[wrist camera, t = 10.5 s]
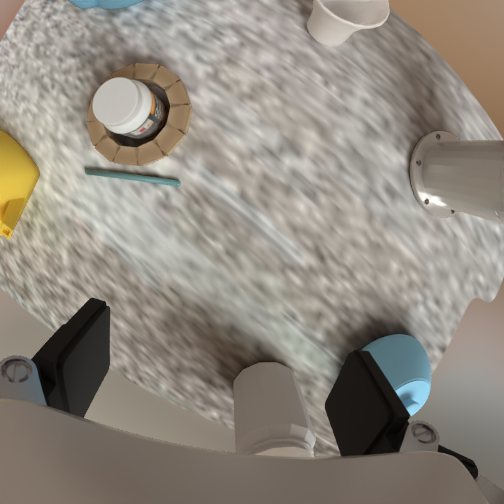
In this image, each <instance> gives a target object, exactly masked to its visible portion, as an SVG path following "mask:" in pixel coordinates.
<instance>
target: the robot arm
mask: <svg viewBox="0 0 504 504" xmlns="http://www.w3.org/2000/svg"><path fill="white" fill-rule="evenodd" d="M410 180H411V185H412V189H413V192H414V195H415V197H416V199H417V201H418V202H419V204H420V205H421V206H422V207H423V209H424V210H426V211H427V212H428V213H430V214H432V215H434V216H437V217H440V218H448V217H452V216H454V215H456V214H458V213H459V212H463V213H467V214H471V215H474V216H478V217H481V218H485V219H488V220H491V221H495V222H498V223H501V224H504V140H477V141H461V140H460V139H459V138H458V137H456V136H455V135H453V134H452V133H449V132H447V131H434V132H431V133H428V134H426V135H425V136H423V137H422V138H421V139H420V140H419V142H418V143H417V145H416V147H415V149H414V151H413V154H412V158H411V162H410ZM109 365H110V307H109V306H106V302H105V301H102V300H99V299H95V298H90V299H89V300H88V301H87V302H86V303H85V304H84V305H83V306H82V307H81V308H80V309H79V311H78V312H77V313H76V314H75V315H74V316H73V317H72V318H71V319H70V320H69V321H68V322H67V323H66V324H63V325H62V326H61V327H60V328H59V329H58V330H57V331H56V332H55V333H54V335H53V336H52V337H51V338H50V339H49V340H48V341H47V342H46V343H45V344H44V345H43V347H42V348H41V349H40V350H39V351H38V352H37V353H36V354H35V356H34V357H33V358H32V359H31V360H30V359H28V358H27V357H23V356H15V355H14V356H9V357H7V358H4V359H3V360H2V361H1V362H0V504H504V491H503V490H502V489H500V488H499V487H498V486H496V485H495V484H494V483H492V482H491V481H489V480H488V479H487V478H485V477H484V476H483V475H480V476H479V477H478V469H477V466H476V465H475V463H474V462H473V461H472V460H471V459H468V458H467V457H464V456H462V455H460V454H458V453H456V452H453V451H451V450H449V449H447V448H445V447H442V446H440V445H439V434H438V432H437V430H436V429H435V428H434V427H433V426H431V425H430V424H428V423H426V422H423V421H413V422H411V423H410V424H409V422H408V421H407V420H408V419H409V418H410V416H411V415H410V414H409V412H408V411H407V409H406V408H405V406H404V404H403V403H402V401H401V400H400V398H399V396H398V395H397V393H396V392H395V390H394V389H393V387H392V386H391V384H390V382H389V381H388V379H387V378H386V376H385V375H384V373H383V372H382V370H381V369H380V367H379V366H378V364H377V363H376V361H375V360H374V358H373V357H372V355H371V353H370V352H369V351H364V350H354V351H353V352H352V353H350V354H349V355H348V357H347V359H346V361H345V363H344V365H343V368H342V370H341V372H340V374H339V376H338V378H337V380H336V382H335V384H334V386H333V388H332V390H331V392H330V394H329V396H328V398H327V400H326V402H325V410H326V413H327V416H328V418H329V421H330V424H331V427H332V430H333V433H334V436H335V439H336V442H337V445H338V448H339V450H340V453H341V456H340V457H284V456H266V455H253V454H242V453H232V452H225V451H217V450H211V449H204V448H198V447H192V446H187V445H181V444H176V443H171V442H167V441H162V440H158V439H154V438H149V437H145V436H142V435H138V434H134V433H130V432H127V431H123V430H120V429H116V428H113V427H109V426H106V425H103V424H99V423H97V422H94V421H91V420H88V419H85V418H84V416H85V414H86V412H87V410H88V408H89V406H90V404H91V402H92V400H93V398H94V396H95V394H96V392H97V391H98V389H99V387H100V385H101V383H102V381H103V379H104V377H105V376H106V374H107V372H108V369H109Z"/></svg>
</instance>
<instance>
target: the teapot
mask: <svg viewBox="0 0 504 504" xmlns="http://www.w3.org/2000/svg"><path fill="white" fill-rule="evenodd" d="M39 175H40V172H39V169H38V167H37V166H36V164H35V163H34V161H33V160H32V159H31V158H30V156H29V155H28V154H27V152H26V151H25V150H24V149H23V148H22V147H21V145H20V144H18V143H17V142H16V141H15V140H14V139H13V138H12V137H10V136H9V135H8V134H7V133H5V132H4V131H2V130H1V129H0V236H2V235H4V236H5V237H6V238H8V239H10V238H11V235H12V233H13V230H14V227H15V226H16V224H17V222H18V220H19V218H20V216H21V214H22V212H23V210H24V208H25V206H26V204H27V202H28V200H29V198H30V196H31V193H32V191H33V189H34V187H35V185H36V183H37V181H38V178H39Z"/></svg>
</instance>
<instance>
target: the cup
mask: <svg viewBox="0 0 504 504" xmlns="http://www.w3.org/2000/svg"><path fill="white" fill-rule="evenodd" d="M389 13H390V9H389V0H313V10H312V13H311V15H310V17H309V19H308V21H307V29H308V32H309V34H310V35H311V36H312V37H313V38H314V39H315V40H316V41H317V42H319V43H321V44H323V45H326V46H339V45H340V44H342V43H344V42H345V41H346V39H347V38H348V37H349V36H350V35H351V34H352V33H354V32H355V31H358V30H361V29H369V28H375V27H379V26H380V25H382V24H383V23H384V22H385V21H386V20H387V18H388V15H389Z"/></svg>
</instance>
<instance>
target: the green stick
mask: <svg viewBox="0 0 504 504" xmlns="http://www.w3.org/2000/svg"><path fill="white" fill-rule="evenodd" d="M85 173H86V174H88V175H97V176H105V177H113V178H121V179H129V180H137V181H144V182H151V183H158V184H165V185H171V186H180V184H181V183H180V181H178V180H172V179H165V178H158V177H151V176H143V175H136V174H128V173H120V172H112V171H103V170H94V169H86V170H85Z"/></svg>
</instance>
